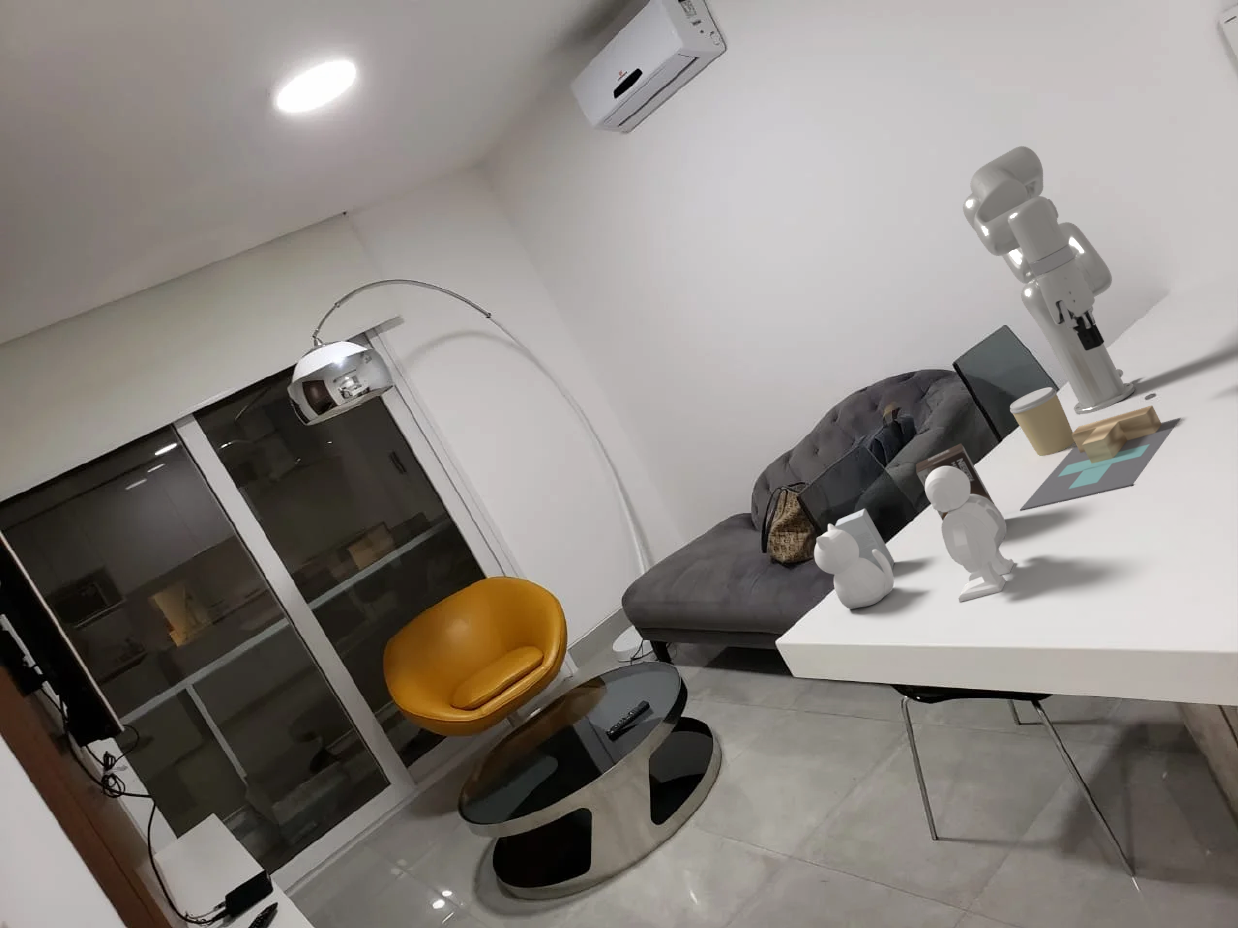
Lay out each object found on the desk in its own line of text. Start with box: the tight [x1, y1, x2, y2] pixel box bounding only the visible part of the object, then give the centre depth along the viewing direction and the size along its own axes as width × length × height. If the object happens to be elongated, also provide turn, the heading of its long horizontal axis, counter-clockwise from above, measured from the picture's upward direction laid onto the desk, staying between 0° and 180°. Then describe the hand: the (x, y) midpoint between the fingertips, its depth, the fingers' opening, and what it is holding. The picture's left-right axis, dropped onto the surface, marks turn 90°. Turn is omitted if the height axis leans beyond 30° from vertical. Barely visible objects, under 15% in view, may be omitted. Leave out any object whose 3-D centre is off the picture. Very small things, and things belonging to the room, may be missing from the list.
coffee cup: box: [1009, 386, 1075, 457], centre depth 183 cm, size 9×9×12 cm
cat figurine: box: [813, 523, 895, 610], centre depth 157 cm, size 9×12×15 cm
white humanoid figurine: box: [924, 466, 1015, 603], centre depth 138 cm, size 14×9×20 cm, turn 142°
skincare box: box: [834, 508, 895, 573], centre depth 169 cm, size 6×4×12 cm
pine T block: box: [1072, 405, 1162, 463], centre depth 165 cm, size 12×14×4 cm
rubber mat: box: [1019, 417, 1181, 512], centre depth 161 cm, size 28×20×1 cm
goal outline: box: [1058, 444, 1150, 489], centre depth 160 cm, size 13×15×1 cm
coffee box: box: [915, 442, 996, 522], centre depth 160 cm, size 9×6×16 cm
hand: (1095, 346), depth 172 cm, fingers closed
